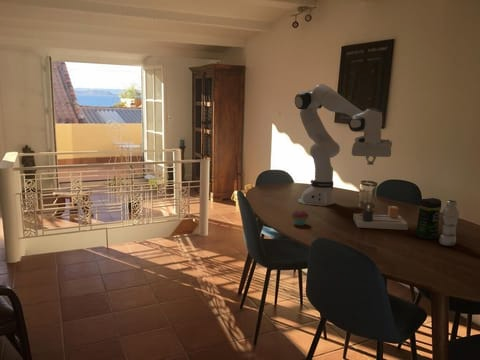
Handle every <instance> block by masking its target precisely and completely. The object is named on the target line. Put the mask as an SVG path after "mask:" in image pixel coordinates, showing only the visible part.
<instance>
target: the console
mask: <svg viewBox="0 0 480 360" xmlns="http://www.w3.org/2000/svg"><path fill="white" fill-rule="evenodd" d="M352 217H353V218H352V219H353V221H354V223H355V225H356V226H357V228H365V229H381V230H383V229H384V230H385V229H386V230H397V231H398V230H401V231H402V230H405V231H408V229H409V224H408V222H407V221H406V220H405V219H404V218H403V217H402V216H401V215H398V218H390V217H389V216H388V214H374V213H373V220H372V221H364V220H363V213H353V216H352Z"/></svg>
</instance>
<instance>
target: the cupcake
mask: <svg viewBox="0 0 480 360" xmlns="http://www.w3.org/2000/svg"><path fill="white" fill-rule="evenodd" d="M304 203H305V202H304ZM304 203H303V204H302V209H301V210H295V211H293V212H292V214H291V219H293V221H294V224H295V226H300V227H301V226H302V227H303V226H304V225H305V224H306V222H307V220H308V219H309V216H310V215H309V214H308V213H307V212H306V211H304V208H305V205H306V204H304Z"/></svg>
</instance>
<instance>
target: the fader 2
mask: <svg viewBox="0 0 480 360" xmlns="http://www.w3.org/2000/svg"><path fill="white" fill-rule="evenodd" d="M399 210H400V208H399V207H398V206H396V205H394V206H393V205H388V206H387V215H388V216H389V217H390V218H398V216H399Z"/></svg>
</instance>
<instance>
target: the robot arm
mask: <svg viewBox="0 0 480 360" xmlns="http://www.w3.org/2000/svg"><path fill="white" fill-rule="evenodd" d="M294 105H295V107H296V108H297V109H298V110H300V111H299V115H300V119H301V122H302V125H303V126H304V129H305V132H306V134H307V136H308V137H309V139H310V140H312V141H313V142H314V143H313V144H312V145H311V146H310V149H309V153H310V156H311V158H312V159H313V163H314V179H311V180H310V186H309V187H307V188H306V189H305V190H303V192H302V195H301V197H300V198H298V200H297V202H298V203H299V204H300V203H301V205H303V203H304V202H305V203H304V204H305V205H311V206H321V207H322V206H323V207H325V206H331V205H333V204H335V201H334V197H333V190H334V180H333V178H334V168H333V166H332V162H331V159H332V158H334V157H336V156H338V155H339V153H340V150H341V147H340V145H339V143H338V142H336V141H335V140H334V139H333V137H332V135H330V133H329V131H327V129H326V127H325V126H324V124H323V122H322V120H321V118H320V115H319V114H318V109H321V108H322V107H323V108H324V109H326V110H327V111H330V112H333V113H340V114H345V115H348V116H349V117H350V118H349V120H348V128H349V129H350V131H352V132H354V133H363V135H360V136H359V137H358V136H357V137H355V138H354V142H353V144H352V148H351V155H352V156H353V157H365V159H366V161H367V163H366V164H367V165H368V166H374V162H375V161H376V159H377V158H378V157H379V158H380V157H381V158H390V157H391V156H392V147H393V141H392V140H390V139H382V127H383V113H382V111H381V110H380V109H377V108H372V107H369V108H366V110H364V111H363V110H362V109H360V108H359V107H357V105H355V104H354V103H352V102H350V101H349V100H347V99H346V98H345V97H343V95H341V94H339V93H338V92H337V91H336V90H334V89H333V88H332V87H330V86H328V85H326V84H324V83H319V84H317V85H316V86H315V87H314V88H312V89H309V90H305V91H301V92H299V93H297V94H296V95H295V97H294ZM370 157H372V159H371V160H369V158H370Z"/></svg>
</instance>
